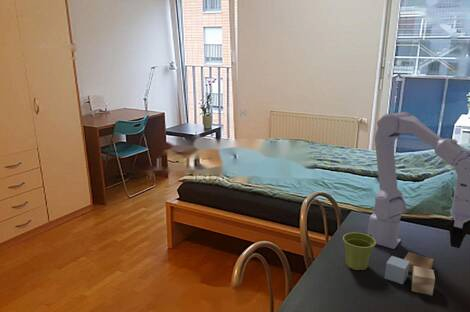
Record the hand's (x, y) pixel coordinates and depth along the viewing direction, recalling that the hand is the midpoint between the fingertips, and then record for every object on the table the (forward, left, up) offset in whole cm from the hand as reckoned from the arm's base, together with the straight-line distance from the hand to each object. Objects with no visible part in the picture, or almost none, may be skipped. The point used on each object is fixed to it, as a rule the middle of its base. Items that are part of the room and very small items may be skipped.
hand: (457, 241), depth 109 cm
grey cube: (-12, -13, -10) cm, 21 cm away
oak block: (-9, -4, -10) cm, 14 cm away
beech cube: (-5, -14, -10) cm, 18 cm away
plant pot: (-23, -14, -10) cm, 29 cm away
